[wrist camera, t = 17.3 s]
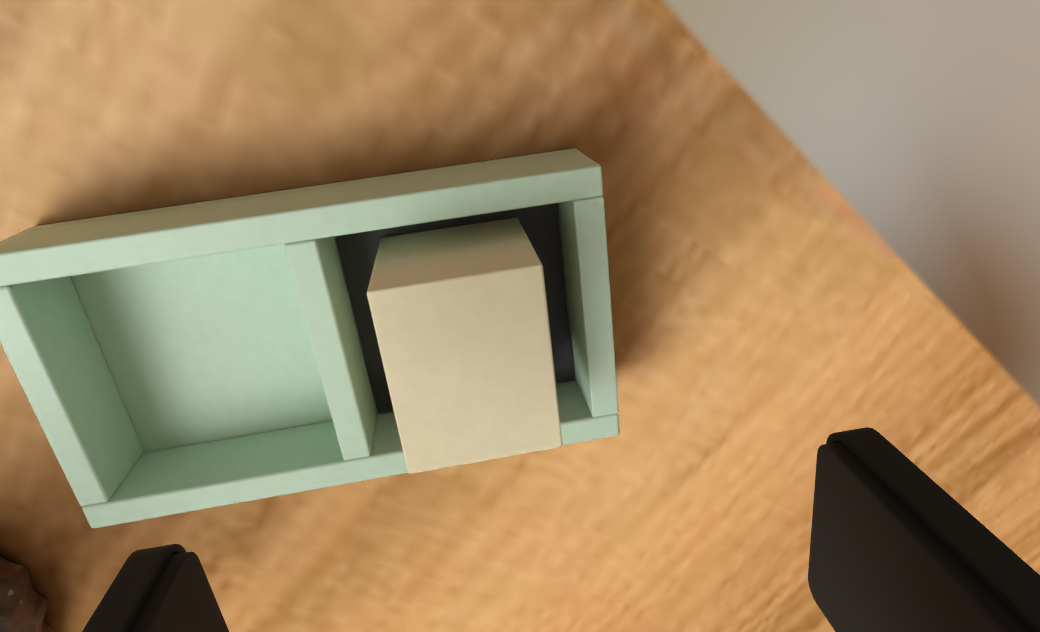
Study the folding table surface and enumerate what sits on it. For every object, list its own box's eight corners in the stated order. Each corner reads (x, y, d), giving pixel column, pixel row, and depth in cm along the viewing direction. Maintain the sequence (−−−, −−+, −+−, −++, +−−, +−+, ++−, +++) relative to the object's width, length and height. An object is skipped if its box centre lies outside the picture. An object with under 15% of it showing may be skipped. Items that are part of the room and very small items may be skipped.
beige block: (517, 216, 19) (542, 264, 15) (536, 368, 21) (563, 447, 17) (380, 237, 18) (365, 291, 14) (412, 388, 20) (408, 475, 16)
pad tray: (32, 226, 18) (-42, 259, 15) (576, 147, 19) (601, 165, 16) (136, 465, 21) (90, 530, 18) (596, 386, 22) (620, 436, 19)
